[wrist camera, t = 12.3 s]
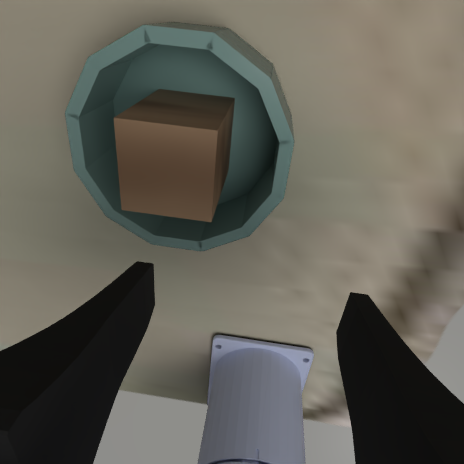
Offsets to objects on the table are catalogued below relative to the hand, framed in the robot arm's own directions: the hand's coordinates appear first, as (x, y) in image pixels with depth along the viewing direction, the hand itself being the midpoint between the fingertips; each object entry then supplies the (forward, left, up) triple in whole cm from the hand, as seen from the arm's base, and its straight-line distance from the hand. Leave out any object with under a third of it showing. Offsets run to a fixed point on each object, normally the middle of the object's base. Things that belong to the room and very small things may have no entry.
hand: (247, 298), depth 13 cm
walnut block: (+3, +4, -9) cm, 11 cm away
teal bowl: (+3, +4, -10) cm, 11 cm away
